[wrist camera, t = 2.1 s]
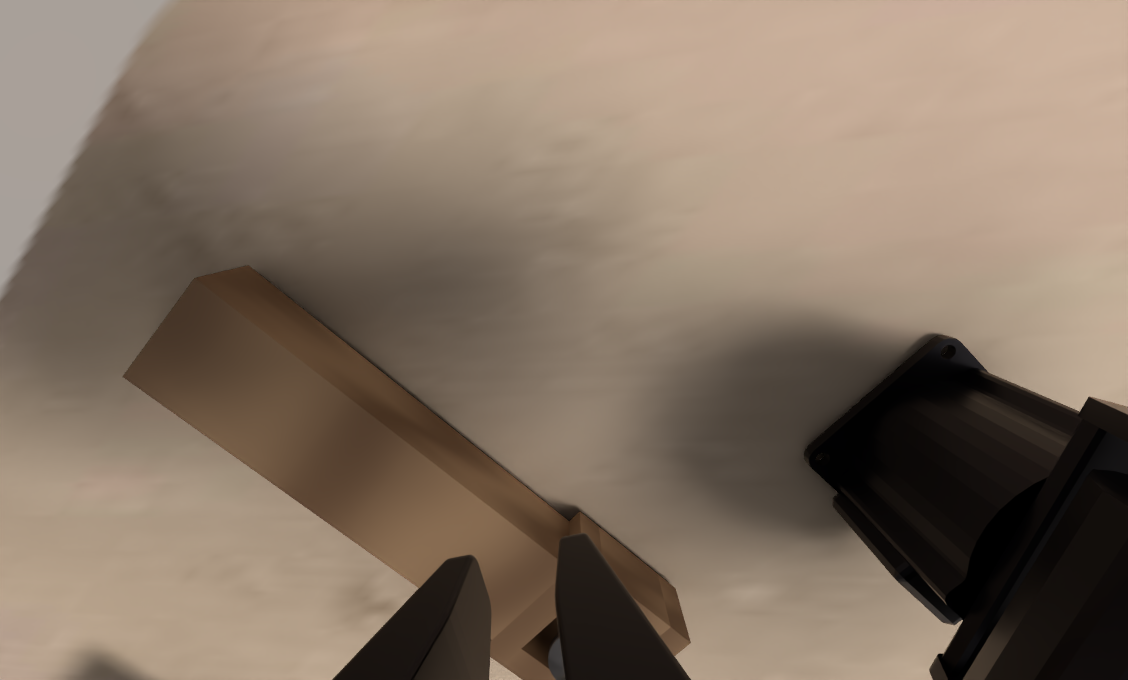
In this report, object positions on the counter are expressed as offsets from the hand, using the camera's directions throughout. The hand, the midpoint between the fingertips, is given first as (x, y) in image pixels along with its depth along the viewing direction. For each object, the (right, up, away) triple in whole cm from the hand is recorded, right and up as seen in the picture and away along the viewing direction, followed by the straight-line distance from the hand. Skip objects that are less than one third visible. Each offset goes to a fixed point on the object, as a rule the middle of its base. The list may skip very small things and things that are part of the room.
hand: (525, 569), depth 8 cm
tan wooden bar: (-4, -2, +12) cm, 12 cm away
